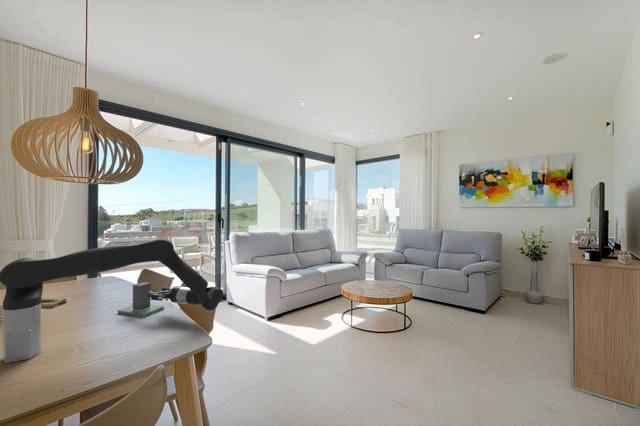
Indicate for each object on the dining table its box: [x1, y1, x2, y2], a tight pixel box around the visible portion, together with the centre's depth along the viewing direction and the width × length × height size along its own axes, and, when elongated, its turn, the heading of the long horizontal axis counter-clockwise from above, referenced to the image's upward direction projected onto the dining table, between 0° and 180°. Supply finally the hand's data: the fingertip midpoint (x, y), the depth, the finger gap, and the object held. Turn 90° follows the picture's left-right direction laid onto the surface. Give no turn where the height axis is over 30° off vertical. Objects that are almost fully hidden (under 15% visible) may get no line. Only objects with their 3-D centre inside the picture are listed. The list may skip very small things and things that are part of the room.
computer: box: [41, 297, 67, 309], centre depth 152 cm, size 16×8×3 cm, turn 90°
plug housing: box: [132, 281, 151, 310], centre depth 144 cm, size 5×6×12 cm
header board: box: [117, 303, 165, 318], centre depth 145 cm, size 16×12×6 cm
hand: (155, 292), depth 142 cm, fingers open, 8 cm apart
